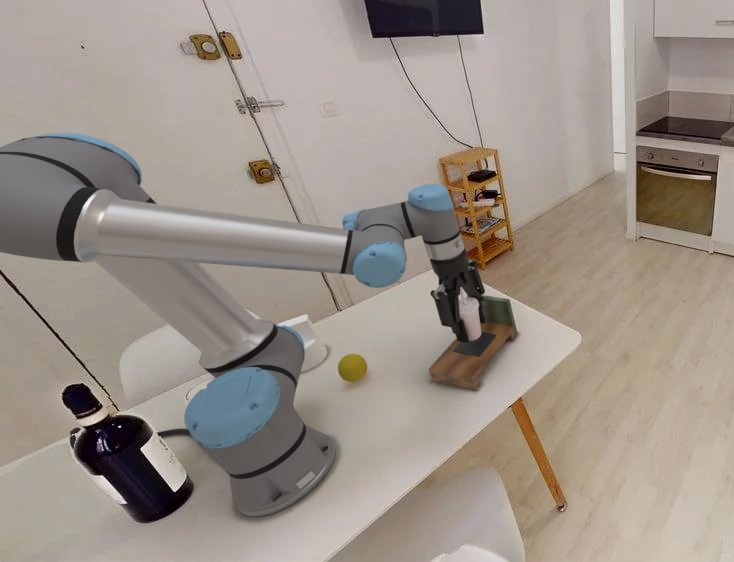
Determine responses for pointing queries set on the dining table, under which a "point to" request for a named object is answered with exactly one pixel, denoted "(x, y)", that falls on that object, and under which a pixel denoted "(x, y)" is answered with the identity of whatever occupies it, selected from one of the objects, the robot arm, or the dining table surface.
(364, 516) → the dining table surface
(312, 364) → the base with upright slab
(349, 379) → the lemon
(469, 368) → the wooden board with backrest
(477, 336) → the smoothie
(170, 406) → the dining table surface
